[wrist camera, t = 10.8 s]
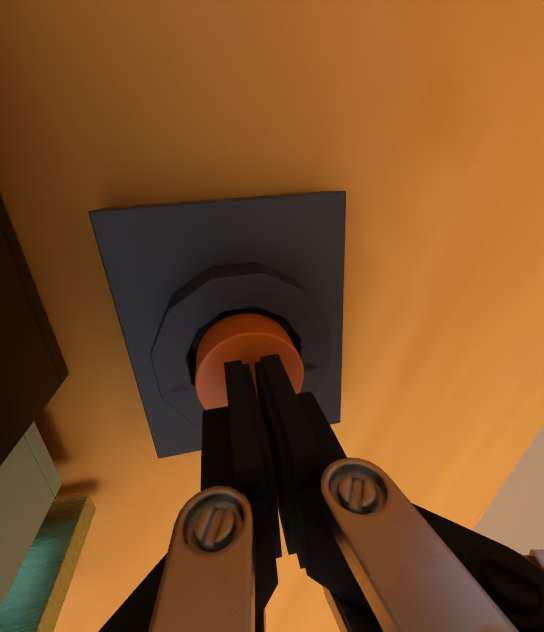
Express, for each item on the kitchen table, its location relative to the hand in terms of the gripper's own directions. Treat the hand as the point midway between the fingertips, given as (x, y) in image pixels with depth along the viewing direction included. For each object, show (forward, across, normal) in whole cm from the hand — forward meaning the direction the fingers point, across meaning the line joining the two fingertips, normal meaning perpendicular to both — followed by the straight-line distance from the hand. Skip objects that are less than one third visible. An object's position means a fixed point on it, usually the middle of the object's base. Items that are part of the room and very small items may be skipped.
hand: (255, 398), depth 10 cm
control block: (+6, 0, 0) cm, 6 cm away
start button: (+2, 0, 0) cm, 2 cm away
